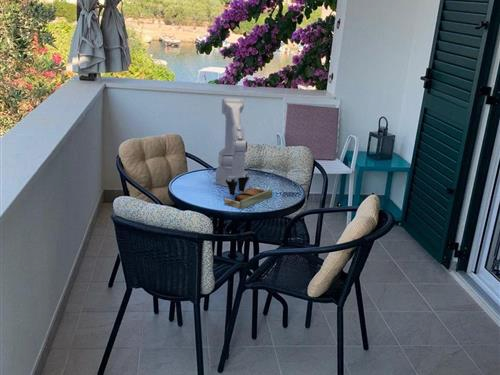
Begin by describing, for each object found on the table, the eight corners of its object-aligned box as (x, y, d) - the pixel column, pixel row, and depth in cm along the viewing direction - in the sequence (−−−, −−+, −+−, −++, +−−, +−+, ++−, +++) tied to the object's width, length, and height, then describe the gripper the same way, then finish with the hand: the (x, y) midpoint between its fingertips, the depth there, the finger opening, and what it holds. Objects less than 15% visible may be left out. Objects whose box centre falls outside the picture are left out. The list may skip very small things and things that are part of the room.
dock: (224, 204, 259) (224, 196, 258) (254, 192, 280) (255, 185, 279) (242, 209, 254) (242, 201, 253) (272, 196, 274) (272, 189, 273)
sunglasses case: (251, 205, 260) (244, 191, 259) (238, 210, 263) (232, 197, 263) (265, 195, 276) (259, 182, 275) (253, 200, 279) (247, 187, 279)
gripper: (236, 169, 258) (234, 198, 262) (254, 164, 270) (252, 191, 274) (223, 166, 262) (222, 194, 266) (241, 161, 273) (240, 188, 277)
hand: (236, 193), depth 270 cm, fingers open, 7 cm apart
